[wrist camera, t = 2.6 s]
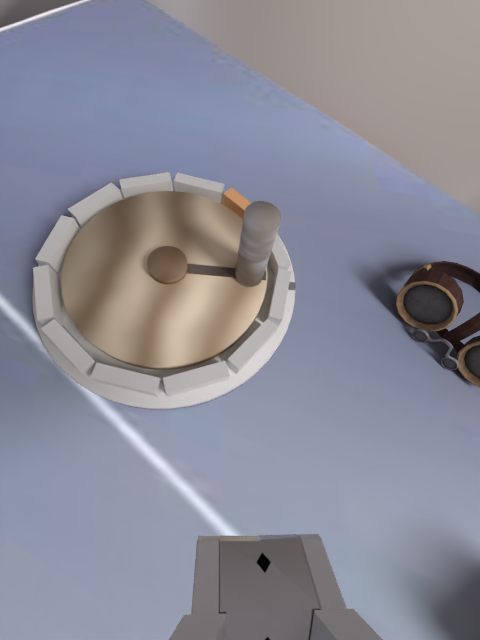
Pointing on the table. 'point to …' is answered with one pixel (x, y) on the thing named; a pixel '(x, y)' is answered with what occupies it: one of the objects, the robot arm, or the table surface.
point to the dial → (168, 277)
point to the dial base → (145, 383)
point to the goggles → (443, 313)
